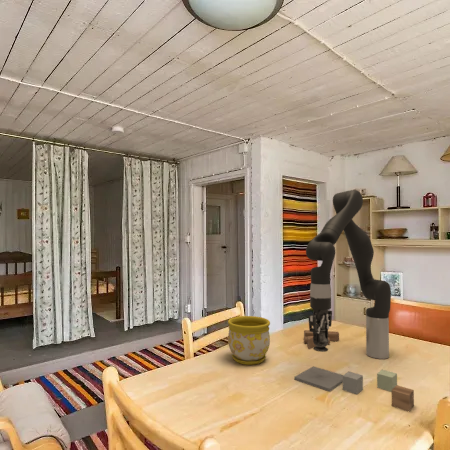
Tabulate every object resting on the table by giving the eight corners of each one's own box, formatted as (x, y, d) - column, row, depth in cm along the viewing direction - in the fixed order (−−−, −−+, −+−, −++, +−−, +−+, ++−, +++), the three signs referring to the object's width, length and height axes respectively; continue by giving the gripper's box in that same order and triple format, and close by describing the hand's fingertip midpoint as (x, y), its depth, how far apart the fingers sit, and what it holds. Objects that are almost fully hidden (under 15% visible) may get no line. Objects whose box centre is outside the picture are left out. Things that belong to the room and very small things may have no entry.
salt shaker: (329, 352, 124) (329, 319, 125) (312, 351, 125) (312, 318, 126) (328, 347, 130) (328, 315, 130) (312, 346, 131) (312, 314, 131)
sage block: (382, 383, 124) (382, 369, 125) (397, 387, 121) (396, 373, 121) (377, 387, 121) (377, 373, 121) (392, 392, 117) (392, 377, 117)
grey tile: (313, 368, 137) (313, 366, 137) (347, 379, 128) (347, 376, 128) (294, 379, 127) (294, 376, 127) (329, 391, 118) (329, 388, 118)
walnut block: (396, 400, 112) (396, 385, 112) (413, 406, 108) (413, 389, 108) (391, 406, 108) (391, 390, 108) (409, 412, 105) (408, 395, 105)
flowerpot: (221, 363, 142) (221, 323, 143) (236, 350, 159) (236, 314, 159) (263, 370, 136) (263, 328, 136) (274, 355, 152) (274, 318, 153)
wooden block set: (302, 327, 177) (338, 329, 175) (302, 339, 177) (338, 340, 175) (306, 337, 160) (346, 339, 159) (306, 350, 160) (346, 351, 158)
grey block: (348, 385, 123) (348, 371, 123) (362, 389, 119) (362, 375, 119) (342, 390, 119) (342, 375, 119) (357, 394, 116) (356, 379, 116)
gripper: (320, 291, 136) (320, 334, 136) (301, 296, 126) (301, 343, 125) (338, 294, 131) (339, 339, 130) (320, 299, 120) (320, 348, 120)
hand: (320, 340), depth 128 cm, fingers closed on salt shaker, 6 cm apart
